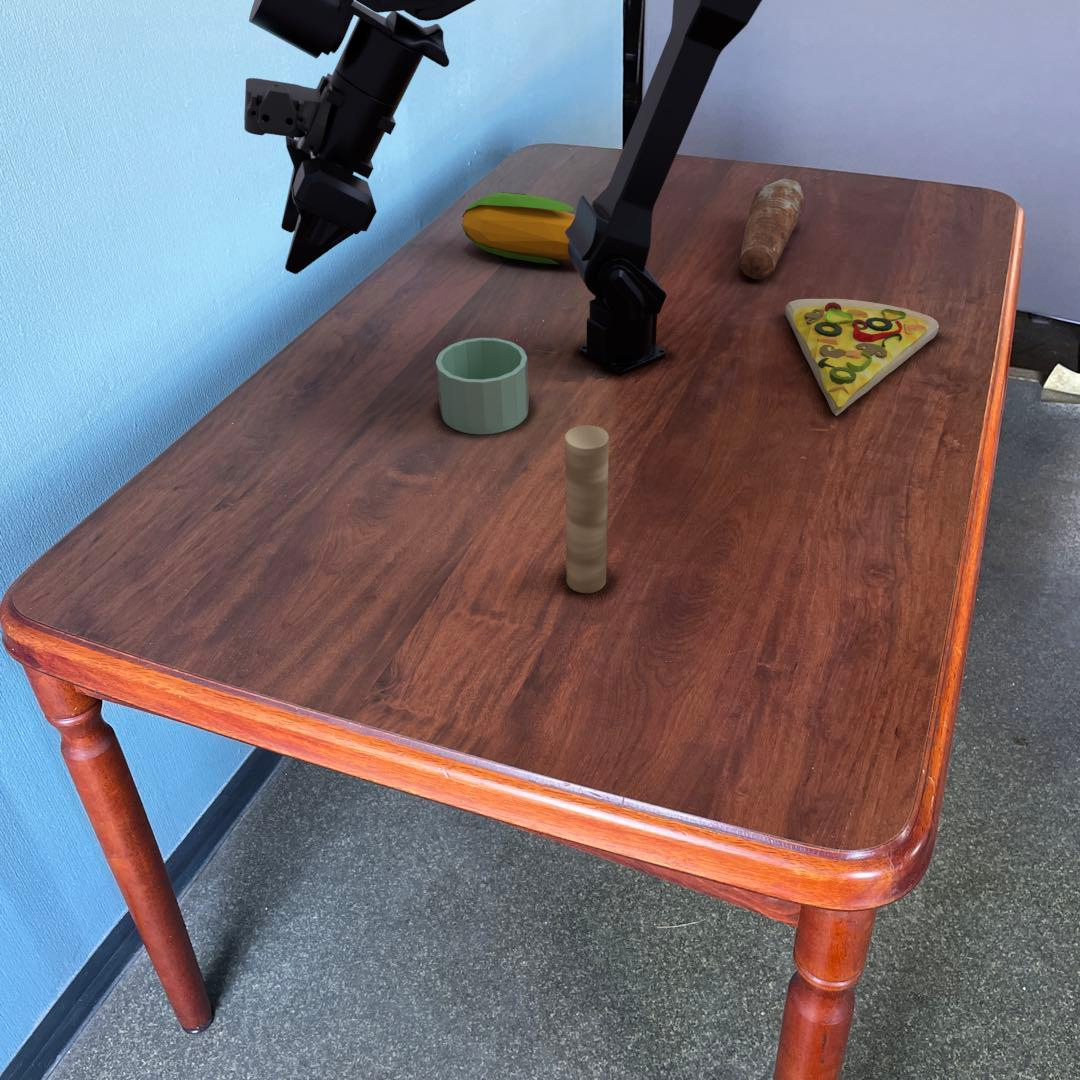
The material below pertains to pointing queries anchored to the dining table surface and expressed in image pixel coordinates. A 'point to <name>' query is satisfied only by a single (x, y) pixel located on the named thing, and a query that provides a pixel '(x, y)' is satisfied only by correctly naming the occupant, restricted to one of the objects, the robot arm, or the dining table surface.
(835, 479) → the dining table surface
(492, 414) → the cup
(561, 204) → the corn
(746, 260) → the bread
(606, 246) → the robot arm
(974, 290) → the dining table surface
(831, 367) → the pizza slice
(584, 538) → the dowel
